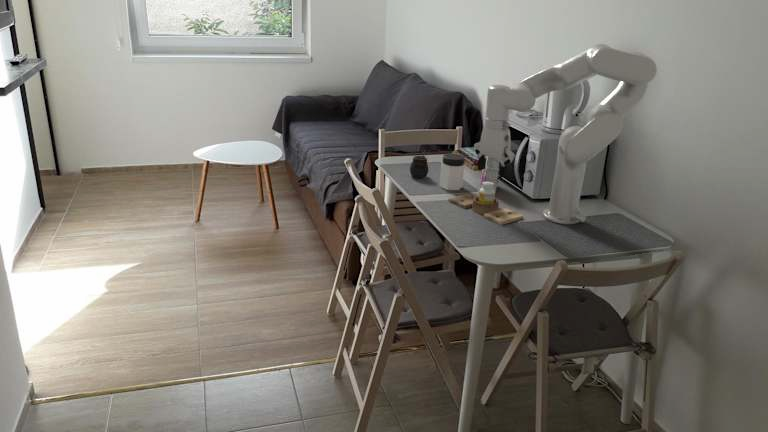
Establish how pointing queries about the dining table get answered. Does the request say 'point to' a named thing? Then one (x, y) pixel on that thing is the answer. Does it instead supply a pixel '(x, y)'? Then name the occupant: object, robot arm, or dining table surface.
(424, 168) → the mate gourd
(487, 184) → the supplement bottle
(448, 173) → the jar
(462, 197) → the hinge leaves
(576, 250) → the dining table surface
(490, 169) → the candy bar box
